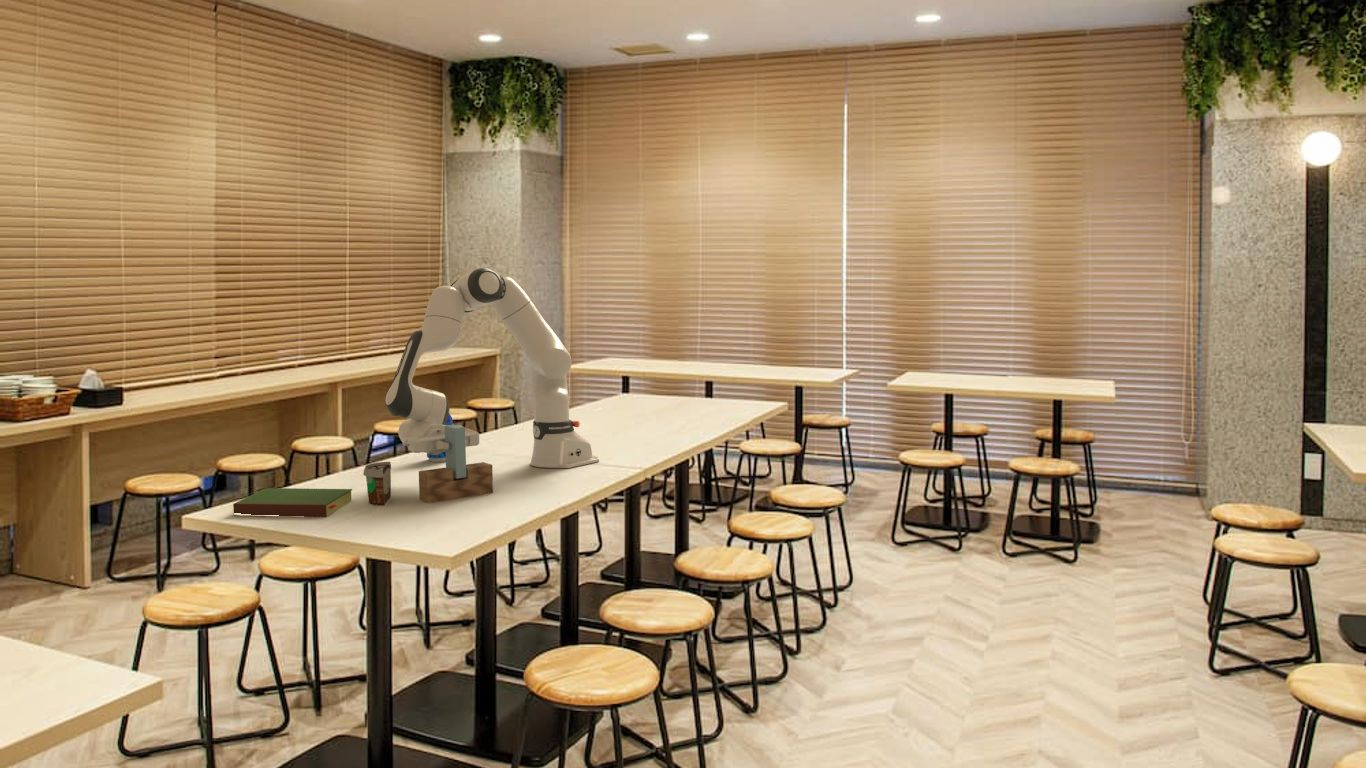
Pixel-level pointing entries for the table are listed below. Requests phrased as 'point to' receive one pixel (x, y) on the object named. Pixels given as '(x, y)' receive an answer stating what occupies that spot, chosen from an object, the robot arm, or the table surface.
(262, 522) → the table surface
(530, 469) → the table surface
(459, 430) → the sage green pillar
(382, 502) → the food container
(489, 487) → the notched wooden block
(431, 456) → the beer can
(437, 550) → the table surface
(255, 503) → the hardcover book
